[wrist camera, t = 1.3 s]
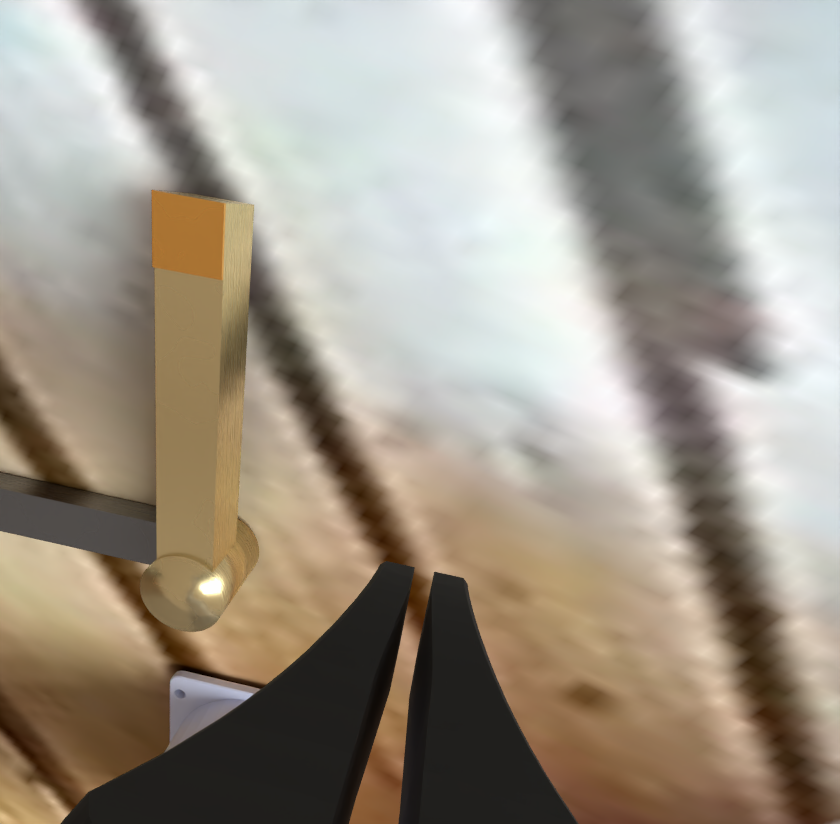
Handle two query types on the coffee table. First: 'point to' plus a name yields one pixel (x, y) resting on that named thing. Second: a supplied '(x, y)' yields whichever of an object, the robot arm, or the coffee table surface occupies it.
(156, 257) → the lever
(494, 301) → the coffee table surface
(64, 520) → the levelling base
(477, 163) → the coffee table surface
